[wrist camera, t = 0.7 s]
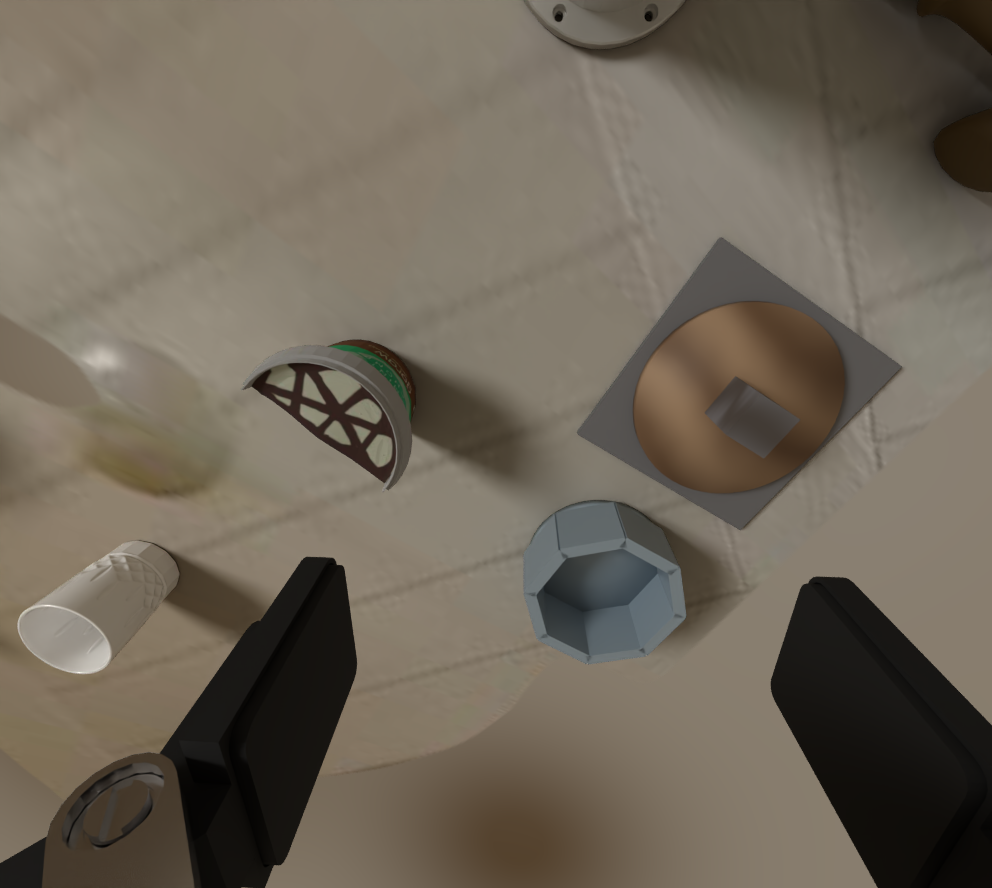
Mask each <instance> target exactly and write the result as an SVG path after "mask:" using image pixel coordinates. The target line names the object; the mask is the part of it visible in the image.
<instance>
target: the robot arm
mask: <svg viewBox="0 0 992 888" xmlns="http://www.w3.org/2000/svg"><path fill="white" fill-rule="evenodd" d="M685 1H686V0H524V2H525V4H526V6H527V7H528V8H529V9H530V11H531V12H532V13H533V15H534V16H535V17H536V18H537V20H538V21H539V22H540V23H541V24H542V25H543V26H544V27H546V28H547V29H548V30H549V31H550V32H552V33H553V34H554V35H555V36H557V37H559V38H561V39H563V40H565V41H567V42H569V43H571V44H572V45H576V46H581V47H585V48H589V49H612V48H616V47H621V46H625V45H629V44H631V43H633V42H635V41H638V40H640V39H642V38H644V37H646V36H648V35H649V34H651V33H652V32H653V31H655V30H656V29H658V28H659V27H660V26H662V25H663V24H664V23H666V22H667V21H668V20H669V19H670V17H671V16H672V15H673V14H674V13H675V12H676V11H677V10H678V9H679V8H680V7H681V6H682V5H683V3H684V2H685ZM557 14H560V15H561V16H562V18H563V20H562V21H561V22H556V20H555V16H556V15H557ZM645 14H650V15H651V21H650V22H648V21H646V20H645V18H644V16H645ZM356 669H357V657H356V650H355V643H354V635H353V628H352V621H351V613H350V606H349V599H348V591H347V584H346V577H345V570H344V567H343V566H342V565H337V564H336V561H335V559H334V558H326V557H305V558H304V559H303V560H302V561H301V562H300V564H299V565H298V567H297V568H296V570H295V571H294V573H293V574H292V575H291V577H290V578H289V580H288V581H287V583H286V584H285V586H284V587H283V589H282V590H281V592H280V593H279V594H278V596H277V597H276V599H275V600H274V602H273V603H272V605H271V606H270V608H269V609H268V611H267V612H266V613H265V615H264V616H263V618H262V619H261V621H256V622H255V623H253V624H252V625H251V626H250V627H249V628H248V629H247V630H246V632H245V633H244V634H243V636H242V637H241V639H240V640H239V641H238V643H237V644H236V646H235V647H234V649H233V650H232V651H231V653H230V654H229V656H228V657H227V659H226V660H225V661H224V663H223V664H222V666H221V667H220V668H219V670H218V671H217V673H216V674H215V676H214V677H213V678H212V680H211V681H210V683H209V684H208V686H207V687H206V688H205V690H204V691H203V693H202V694H201V695H200V697H199V698H198V700H197V701H196V703H195V704H194V705H193V707H192V708H191V710H190V711H189V712H188V714H187V715H186V717H185V718H184V720H183V721H182V722H181V724H180V725H179V727H178V728H177V730H176V731H175V732H174V734H173V735H172V737H171V738H170V739H169V741H168V742H167V744H166V745H165V747H164V748H163V749H162V751H161V752H160V754H157V753H151V752H147V753H141V754H134V755H130V756H128V757H125V758H123V759H120V760H117V761H115V762H113V763H111V764H109V765H108V766H106V767H104V768H103V769H101V770H99V771H97V772H96V773H94V774H93V775H92V776H91V777H89V778H88V779H87V780H86V781H84V782H83V783H82V784H81V785H79V786H78V787H77V788H76V789H75V790H74V791H73V792H72V794H71V795H70V796H69V797H68V798H67V799H66V800H65V801H64V803H63V804H62V805H61V806H60V808H59V810H58V811H57V813H56V815H55V817H54V818H53V820H52V821H51V823H50V827H49V831H48V835H47V837H45V838H43V839H42V840H40V841H38V842H36V843H35V844H33V845H31V846H30V847H28V848H26V849H24V850H23V851H21V852H19V853H17V854H16V855H14V856H12V857H10V858H9V859H7V860H5V861H3V862H2V863H0V888H241V887H248V888H265V886H266V883H267V881H268V878H269V876H270V873H271V871H272V868H273V866H274V865H281V864H282V863H283V862H284V860H285V859H286V857H287V855H288V852H289V850H290V847H291V845H292V842H293V839H294V837H295V834H296V831H297V829H298V826H299V824H300V821H301V818H302V816H303V813H304V810H305V808H306V805H307V803H308V800H309V797H310V795H311V792H312V789H313V787H314V784H315V781H316V779H317V776H318V774H319V771H320V768H321V766H322V763H323V760H324V758H325V755H326V752H327V750H328V747H329V745H330V742H331V739H332V737H333V734H334V731H335V729H336V726H337V723H338V721H339V718H340V716H341V713H342V710H343V708H344V705H345V702H346V700H347V697H348V695H349V692H350V689H351V687H352V684H353V681H354V678H355V675H356ZM771 691H772V695H773V698H774V700H775V702H776V704H777V706H778V708H779V709H780V711H781V713H782V715H783V717H784V718H785V720H786V722H787V724H788V726H789V728H790V729H791V731H792V733H793V735H794V737H795V738H796V740H797V742H798V744H799V746H800V747H801V749H802V751H803V753H804V755H805V757H806V758H807V760H808V762H809V764H810V765H811V767H812V769H813V771H814V773H815V775H816V776H817V778H818V780H819V782H820V784H821V786H822V787H823V789H824V791H825V793H826V795H827V796H828V798H829V800H830V802H831V804H832V806H833V807H834V809H835V811H836V813H837V815H838V816H839V818H840V820H841V822H842V824H843V825H844V827H845V829H846V831H847V833H848V834H849V836H850V838H851V840H852V842H853V844H854V846H855V847H856V849H857V851H858V853H859V855H860V856H861V858H862V860H863V862H864V864H865V865H866V867H867V869H868V871H869V873H870V875H871V876H872V878H873V879H874V882H875V883H876V885H877V887H878V888H992V725H991V724H990V723H989V722H988V721H987V720H986V719H985V718H984V717H983V716H982V715H981V714H980V713H979V712H978V711H977V710H976V709H975V708H974V707H973V705H971V703H970V702H969V701H968V700H967V699H966V698H965V697H964V696H963V695H962V694H961V693H960V692H959V691H958V690H957V689H956V688H955V687H954V686H953V685H952V684H951V683H950V682H949V681H948V680H947V679H946V678H945V677H944V676H943V675H942V674H941V672H939V670H938V669H937V668H936V667H935V666H934V665H933V664H932V663H931V662H930V661H929V660H928V659H927V658H926V657H925V656H924V655H923V654H922V653H921V652H920V651H919V650H918V649H917V648H916V647H915V646H914V645H913V644H912V643H911V642H910V641H909V640H908V638H906V636H905V635H904V634H903V633H902V632H901V631H900V630H899V629H898V628H897V627H896V626H895V625H894V624H893V623H892V622H891V621H890V620H889V619H888V618H887V617H886V616H885V615H884V614H883V613H882V612H881V611H880V610H879V609H878V608H877V607H876V606H875V604H874V603H873V602H872V601H871V600H869V598H868V597H867V596H866V595H865V594H864V593H863V592H862V591H861V590H860V589H859V588H858V587H857V586H856V585H855V584H854V583H853V582H852V581H850V580H849V579H847V578H840V577H813V578H812V579H811V580H810V581H809V583H808V584H804V585H803V586H802V587H801V589H800V592H799V595H798V598H797V601H796V604H795V608H794V610H793V613H792V616H791V620H790V623H789V626H788V629H787V632H786V635H785V638H784V642H783V645H782V648H781V651H780V654H779V657H778V660H777V663H776V666H775V669H774V672H773V676H772V679H771Z"/></svg>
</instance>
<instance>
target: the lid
mask: <svg viewBox="0 0 992 888" xmlns="http://www.w3.org/2000/svg"><path fill="white" fill-rule="evenodd" d="M844 386H845V378H844V368H843V363H842V358H841V356H840V353H839V350H838V348H837V346H836V344H835V343H834V341H833V339H832V337H831V336H830V335H829V334H828V332H827V331H826V330H825V329H824V328H823V327H822V326H821V325H820V324H819V323H817V322H816V321H815V320H814V319H813V318H811V317H809V316H807V315H806V314H804V313H802V312H800V311H798V310H795V309H793V308H790V307H787V306H784V305H780V304H775V303H771V302H763V301H740V302H735V303H729V304H724V305H721V306H718V307H714V308H711V309H709V310H707V311H704V312H702V313H700V314H698V315H696V316H694V317H693V318H691V319H689V320H687V321H686V322H684V323H683V324H682V325H680V326H679V327H678V328H676V329H675V330H674V331H672V332H671V333H670V334H669V335H668V336H667V337H666V338H665V339H664V340H663V341H662V342H661V343H660V344H659V346H658V347H657V348H656V349H655V350H654V352H653V353H652V355H651V356H650V358H649V359H648V361H647V362H646V364H645V366H644V368H643V370H642V372H641V374H640V377H639V380H638V382H637V385H636V389H635V394H634V399H633V423H634V427H635V432H636V435H637V438H638V440H639V443H640V445H641V447H642V449H643V450H644V452H645V454H646V456H647V457H648V459H649V460H650V461H651V463H652V464H653V465H654V466H655V467H656V468H657V469H658V470H659V471H660V472H661V473H662V474H663V475H665V476H666V477H667V478H669V479H670V480H672V481H674V482H676V483H678V484H680V485H682V486H684V487H687V488H690V489H693V490H697V491H701V492H708V493H734V492H742V491H746V490H751V489H755V488H758V487H761V486H763V485H766V484H769V483H771V482H773V481H775V480H777V479H779V478H781V477H783V476H785V475H786V474H788V473H790V472H791V471H793V470H794V469H795V468H797V467H798V466H799V465H801V464H802V463H803V462H804V461H805V460H806V459H808V458H809V457H810V456H811V455H812V454H813V453H814V452H815V450H816V449H817V448H818V447H819V446H820V445H821V444H822V442H823V441H824V439H825V438H826V437H827V435H828V434H829V432H830V430H831V428H832V427H833V425H834V423H835V421H836V418H837V416H838V413H839V411H840V408H841V404H842V400H843V395H844Z"/></svg>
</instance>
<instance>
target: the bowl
mask: <svg viewBox="0 0 992 888" xmlns="http://www.w3.org/2000/svg"><path fill="white" fill-rule="evenodd" d="M524 597H525V600H526V603H527V607H528V610H529V614H530V617H531V621H532V624H533V628H534V631H535V635H536V638H537V639H538V641H540V642H542V643H544V644H546V645H548V646H550V647H552V648H555V649H557V650H559V651H561V652H563V653H565V654H567V655H569V656H571V657H573V658H575V659H577V660H579V661H581V662H583V663H585V664H587V663H588V664H594V663H602V662H609V661H616V660H623V659H630V658H637V657H645V656H646V655H647V656H648V655H649V654H650V653H651V652H652V651H653V650H654V649H655V648H656V647H657V646H658V645H659V644H660V643H661V642H662V641H663V640H664V639H665V638H666V637H667V636H668V635H669V634H670V633H671V632H672V631H673V630H674V629H675V628H676V627H677V626H678V625H680V624H681V623H682V622H683V621H684V620H685V619H686V609H685V601H684V593H683V585H682V577H681V569H680V566H679V564H678V562H677V560H676V558H675V556H674V553H673V551H672V549H671V547H670V545H669V543H668V541H667V538H666V536H665V534H664V532H663V530H662V529H661V528H660V527H658V526H656V525H654V524H653V523H652V522H651V521H650V520H649V519H648V518H647V517H646V516H645V515H643V514H642V513H641V512H639V511H638V510H636V509H634V508H632V507H630V506H628V505H625V504H622V503H618V502H613V501H606V500H590V501H583V502H579V503H575V504H572V505H569V506H566V507H564V508H562V509H560V510H558V511H557V512H555V513H554V514H552V515H551V516H549V517H548V518H547V519H546V520H545V521H544V522H543V523H542V524H541V525H540V526H539V527H538V529H537V530H536V532H535V533H534V535H533V538H532V540H531V542H530V546H529V547H528V548H527V549H526V551H525V552H524Z"/></svg>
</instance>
